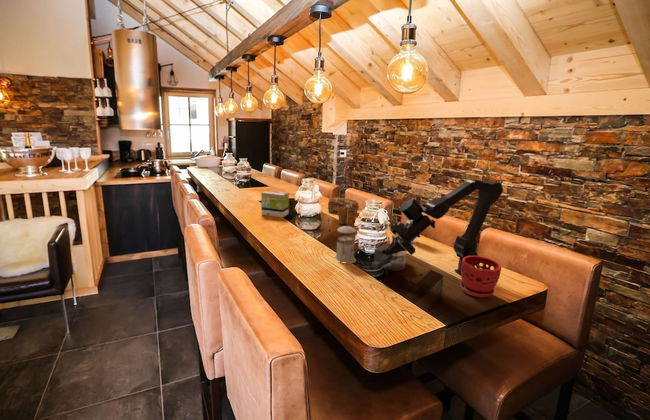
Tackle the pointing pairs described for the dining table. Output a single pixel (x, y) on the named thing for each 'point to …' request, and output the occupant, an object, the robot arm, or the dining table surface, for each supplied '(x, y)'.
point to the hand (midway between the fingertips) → (385, 254)
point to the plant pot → (479, 276)
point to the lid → (385, 254)
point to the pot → (391, 263)
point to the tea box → (275, 203)
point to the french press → (345, 244)
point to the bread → (339, 204)
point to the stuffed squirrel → (351, 214)
